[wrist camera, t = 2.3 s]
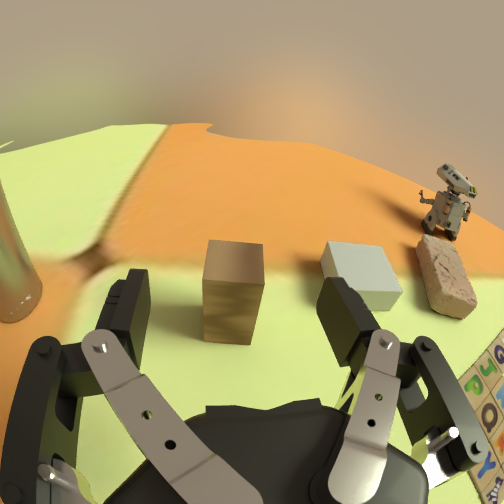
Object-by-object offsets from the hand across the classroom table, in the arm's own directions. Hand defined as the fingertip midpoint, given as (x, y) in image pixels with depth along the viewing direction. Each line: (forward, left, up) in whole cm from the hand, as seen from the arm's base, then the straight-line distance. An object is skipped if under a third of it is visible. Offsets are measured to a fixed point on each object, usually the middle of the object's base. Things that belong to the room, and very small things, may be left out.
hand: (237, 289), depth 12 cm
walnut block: (-5, +8, -17) cm, 20 cm away
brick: (+19, +36, -18) cm, 44 cm away
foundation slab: (+5, +24, -17) cm, 30 cm away
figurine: (+17, +56, -17) cm, 61 cm away
